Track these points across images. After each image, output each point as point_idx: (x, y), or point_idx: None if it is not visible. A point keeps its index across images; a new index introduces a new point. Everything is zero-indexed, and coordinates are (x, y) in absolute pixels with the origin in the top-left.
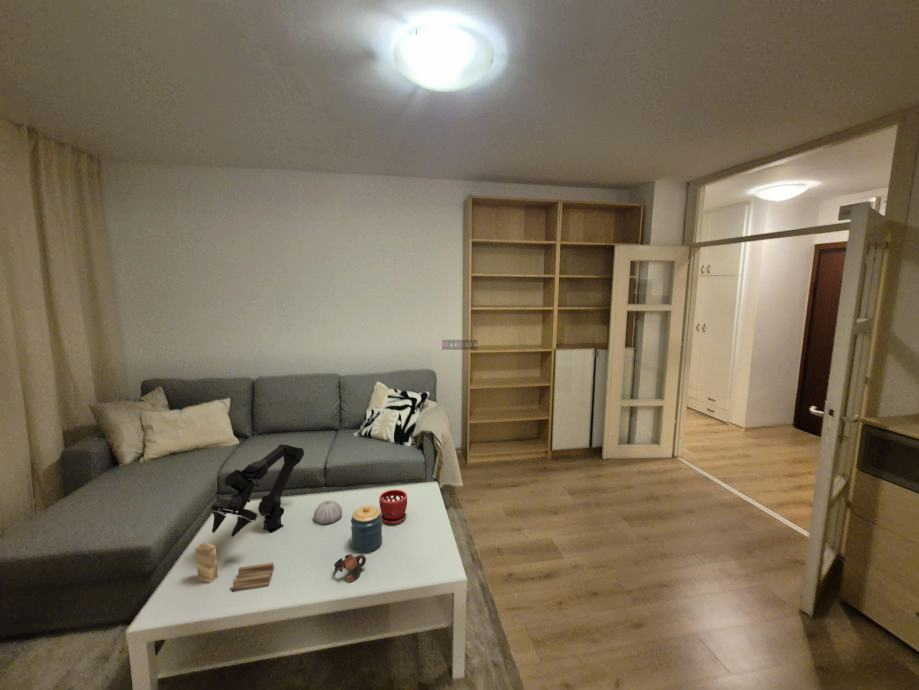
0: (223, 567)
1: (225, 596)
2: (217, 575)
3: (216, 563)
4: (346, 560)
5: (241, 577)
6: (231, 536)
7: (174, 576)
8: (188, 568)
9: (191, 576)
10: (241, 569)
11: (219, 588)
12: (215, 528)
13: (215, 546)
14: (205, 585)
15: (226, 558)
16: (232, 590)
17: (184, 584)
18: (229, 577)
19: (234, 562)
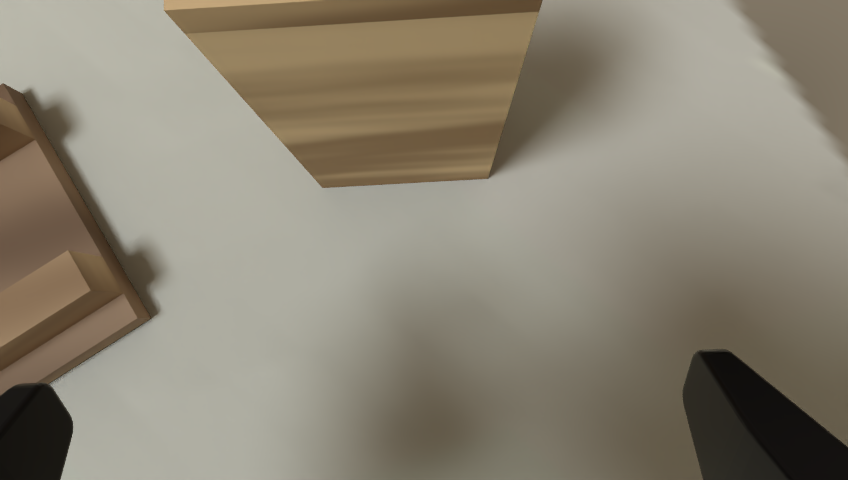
0: (398, 320)
1: (40, 31)
2: (317, 179)
3: (280, 136)
4: None
5: (42, 239)
6: (26, 387)
7: (754, 47)
8: (742, 179)
9: (590, 106)
10: (39, 272)
11: (176, 83)
12: (733, 469)
13: (170, 17)
14: None
15: (499, 450)
16: (10, 87)
17: (546, 6)
18: (207, 227)
19: (352, 427)
